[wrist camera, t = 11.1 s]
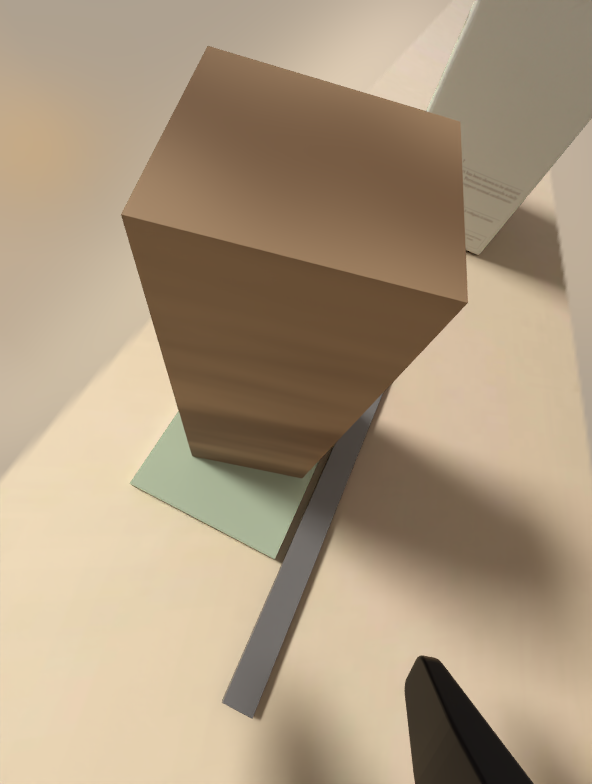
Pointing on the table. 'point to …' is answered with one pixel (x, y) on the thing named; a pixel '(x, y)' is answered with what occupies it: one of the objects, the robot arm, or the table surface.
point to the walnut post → (293, 255)
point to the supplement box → (515, 101)
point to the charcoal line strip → (295, 572)
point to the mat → (222, 492)
